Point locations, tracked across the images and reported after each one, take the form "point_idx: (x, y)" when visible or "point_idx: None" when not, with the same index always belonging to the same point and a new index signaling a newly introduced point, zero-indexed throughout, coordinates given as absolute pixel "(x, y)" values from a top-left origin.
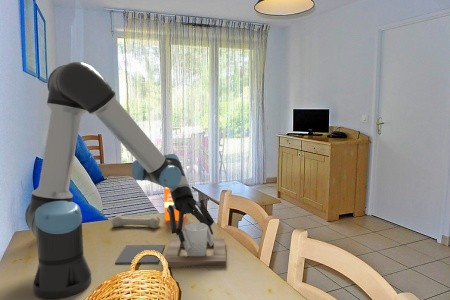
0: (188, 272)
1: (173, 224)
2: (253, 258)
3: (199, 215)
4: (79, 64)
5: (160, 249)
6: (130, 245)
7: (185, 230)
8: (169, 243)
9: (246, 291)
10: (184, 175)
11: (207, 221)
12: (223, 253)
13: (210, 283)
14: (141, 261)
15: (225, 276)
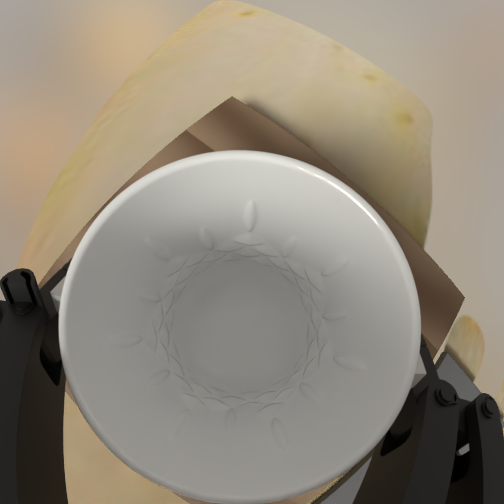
0: (388, 187)
1: (500, 454)
2: (103, 111)
3: (10, 473)
4: None
5: (362, 477)
6: None
7: (400, 363)
8: (318, 492)
9: (294, 29)
10: None
11: (6, 331)
12: (173, 152)
13: (355, 90)
14: (475, 393)
15: (288, 81)
